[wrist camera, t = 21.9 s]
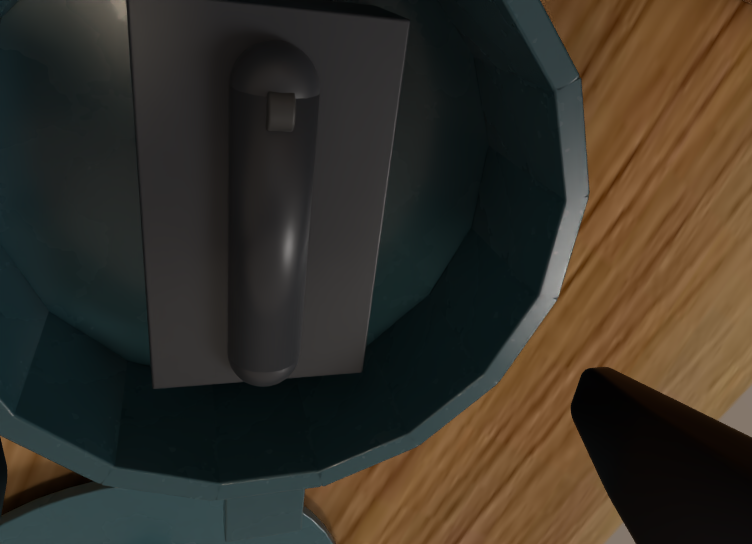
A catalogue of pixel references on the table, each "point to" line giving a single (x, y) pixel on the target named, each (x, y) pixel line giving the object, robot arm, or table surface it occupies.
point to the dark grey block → (261, 182)
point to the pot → (393, 274)
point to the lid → (133, 520)
